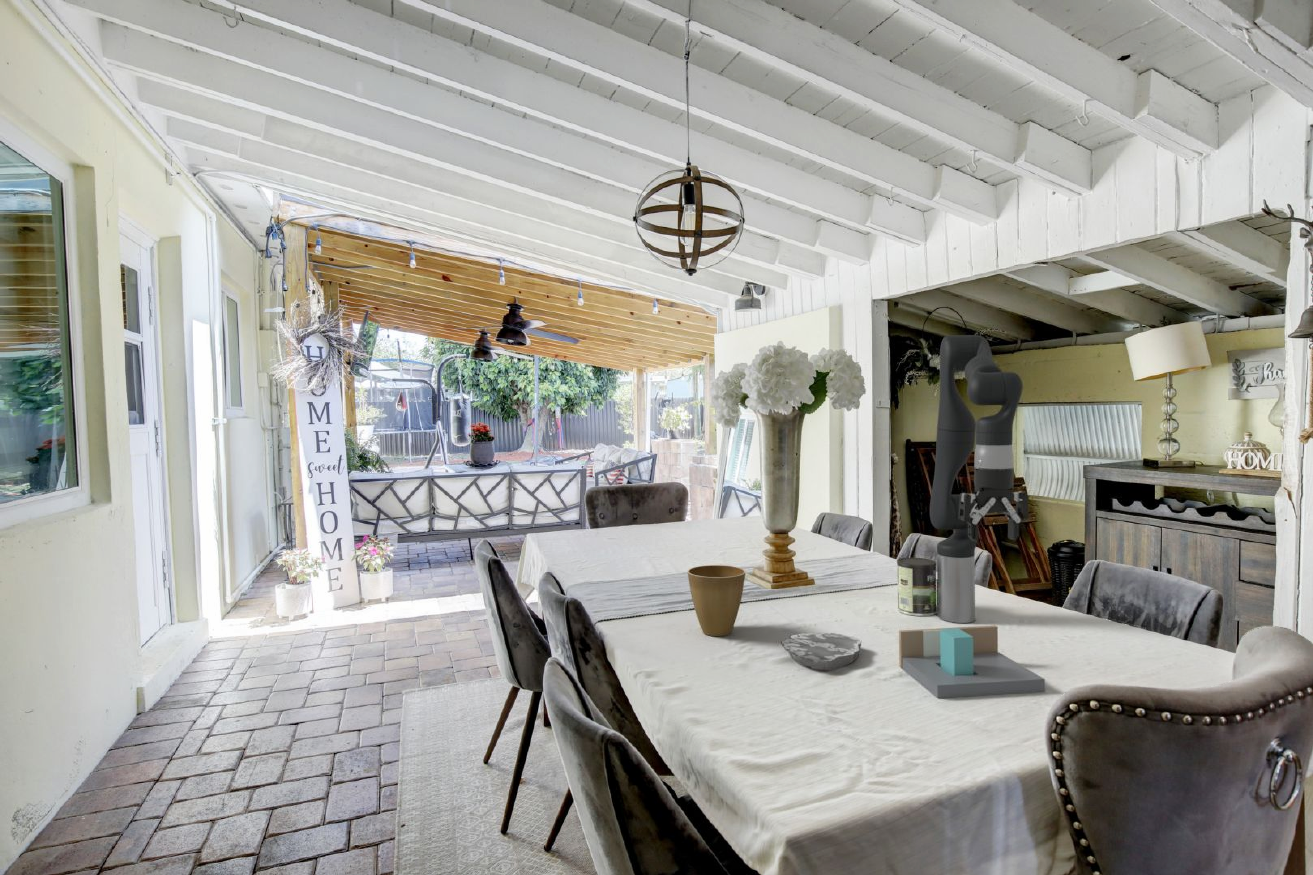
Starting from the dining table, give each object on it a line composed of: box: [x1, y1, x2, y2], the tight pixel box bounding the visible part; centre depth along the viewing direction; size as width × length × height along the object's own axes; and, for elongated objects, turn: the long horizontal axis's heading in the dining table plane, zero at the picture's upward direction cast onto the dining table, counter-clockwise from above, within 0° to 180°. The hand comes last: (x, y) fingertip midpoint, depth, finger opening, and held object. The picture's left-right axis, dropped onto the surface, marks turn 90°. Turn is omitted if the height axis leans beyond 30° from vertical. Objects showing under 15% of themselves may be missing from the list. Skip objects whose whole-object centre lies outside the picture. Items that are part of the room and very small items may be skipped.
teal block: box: [940, 627, 973, 676], centre depth 137 cm, size 6×4×10 cm
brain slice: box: [780, 632, 862, 672], centre depth 153 cm, size 20×17×3 cm
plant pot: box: [687, 564, 746, 637], centre depth 172 cm, size 15×15×16 cm
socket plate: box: [898, 625, 1046, 699], centre depth 138 cm, size 16×22×8 cm
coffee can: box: [896, 557, 937, 617], centre depth 186 cm, size 10×10×14 cm
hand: (993, 540), depth 144 cm, fingers open, 8 cm apart
